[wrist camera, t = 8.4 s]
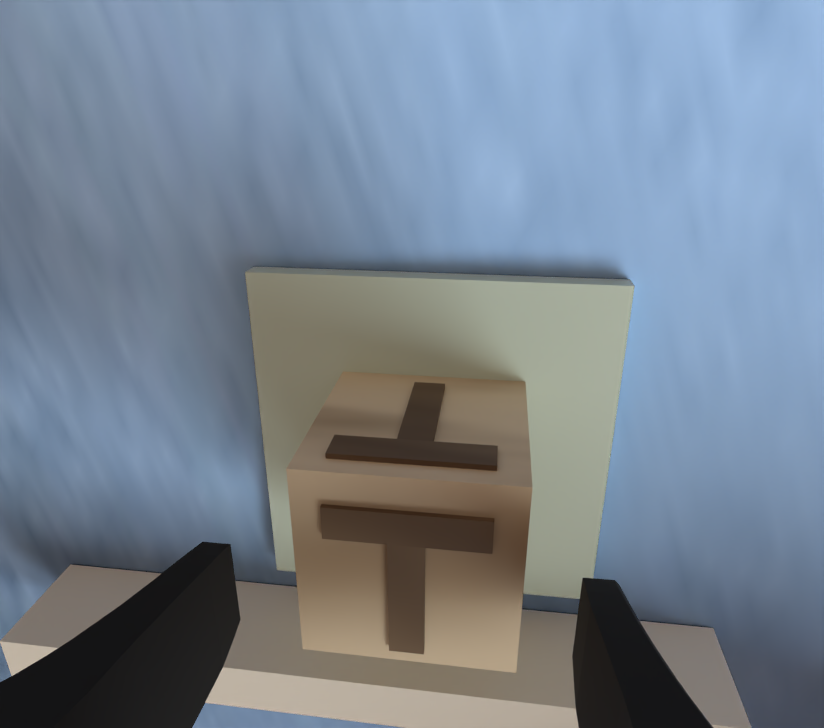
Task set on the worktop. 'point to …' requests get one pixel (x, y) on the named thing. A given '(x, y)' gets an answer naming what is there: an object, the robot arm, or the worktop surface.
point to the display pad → (458, 358)
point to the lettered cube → (414, 520)
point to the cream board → (378, 663)
